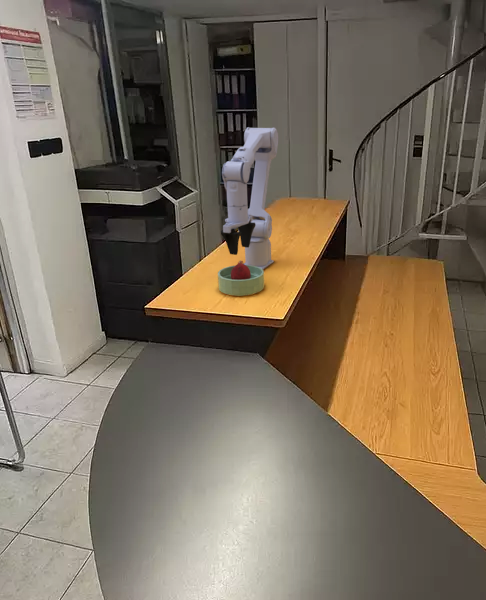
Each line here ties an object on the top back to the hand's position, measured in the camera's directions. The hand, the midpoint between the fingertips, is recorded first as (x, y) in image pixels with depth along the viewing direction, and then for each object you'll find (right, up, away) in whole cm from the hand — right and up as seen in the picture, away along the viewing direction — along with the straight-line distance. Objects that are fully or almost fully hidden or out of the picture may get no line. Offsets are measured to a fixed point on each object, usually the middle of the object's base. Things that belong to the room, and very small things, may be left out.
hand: (239, 250), depth 143 cm
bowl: (+1, -11, -1) cm, 11 cm away
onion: (+1, -11, -2) cm, 11 cm away
